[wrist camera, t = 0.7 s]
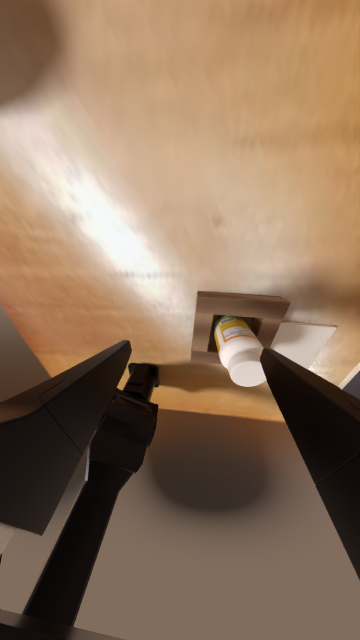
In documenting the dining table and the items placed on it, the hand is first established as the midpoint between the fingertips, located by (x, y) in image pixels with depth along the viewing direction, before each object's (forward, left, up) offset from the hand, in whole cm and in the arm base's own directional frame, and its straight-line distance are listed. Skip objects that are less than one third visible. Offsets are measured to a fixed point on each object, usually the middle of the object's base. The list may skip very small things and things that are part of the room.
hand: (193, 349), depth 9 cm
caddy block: (-6, -7, -13) cm, 16 cm away
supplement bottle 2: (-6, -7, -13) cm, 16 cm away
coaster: (-8, -18, -13) cm, 23 cm away
